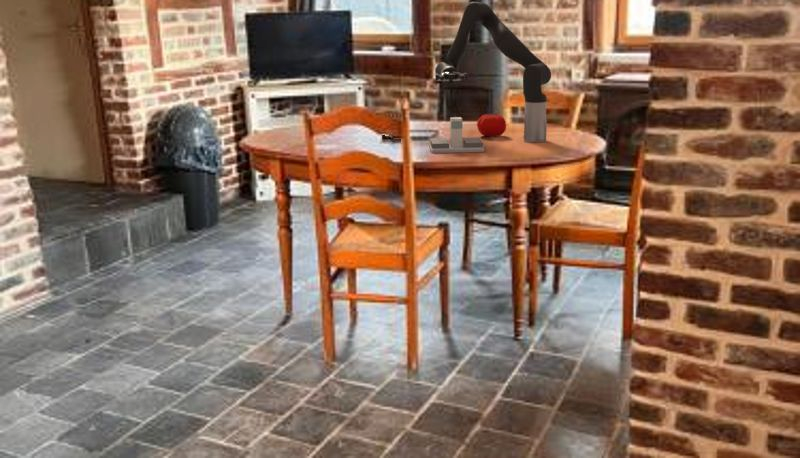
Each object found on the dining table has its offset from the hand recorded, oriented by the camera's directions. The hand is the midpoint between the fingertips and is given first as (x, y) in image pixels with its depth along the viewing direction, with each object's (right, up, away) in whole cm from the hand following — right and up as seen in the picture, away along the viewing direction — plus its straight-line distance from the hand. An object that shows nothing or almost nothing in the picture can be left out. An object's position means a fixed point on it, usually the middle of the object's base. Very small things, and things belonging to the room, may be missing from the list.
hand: (452, 78), depth 336 cm
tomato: (+19, -23, +22) cm, 37 cm away
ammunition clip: (-26, -24, +20) cm, 40 cm away
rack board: (+1, -31, -8) cm, 32 cm away
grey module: (+1, -30, -8) cm, 32 cm away
